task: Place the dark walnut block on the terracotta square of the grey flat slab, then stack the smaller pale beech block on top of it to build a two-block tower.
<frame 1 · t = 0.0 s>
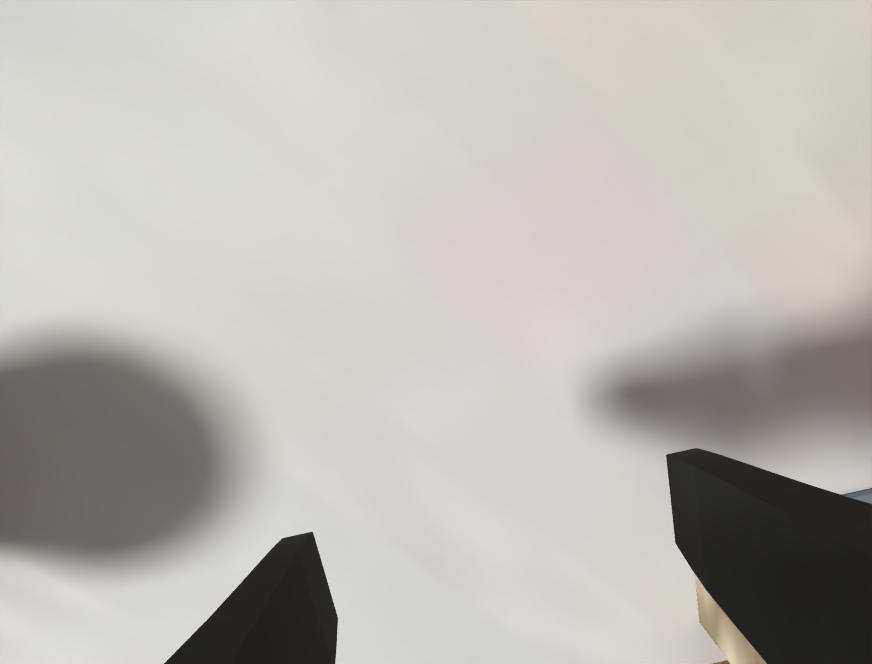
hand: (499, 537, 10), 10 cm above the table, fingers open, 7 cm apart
beech block: (737, 574, 23), on the table
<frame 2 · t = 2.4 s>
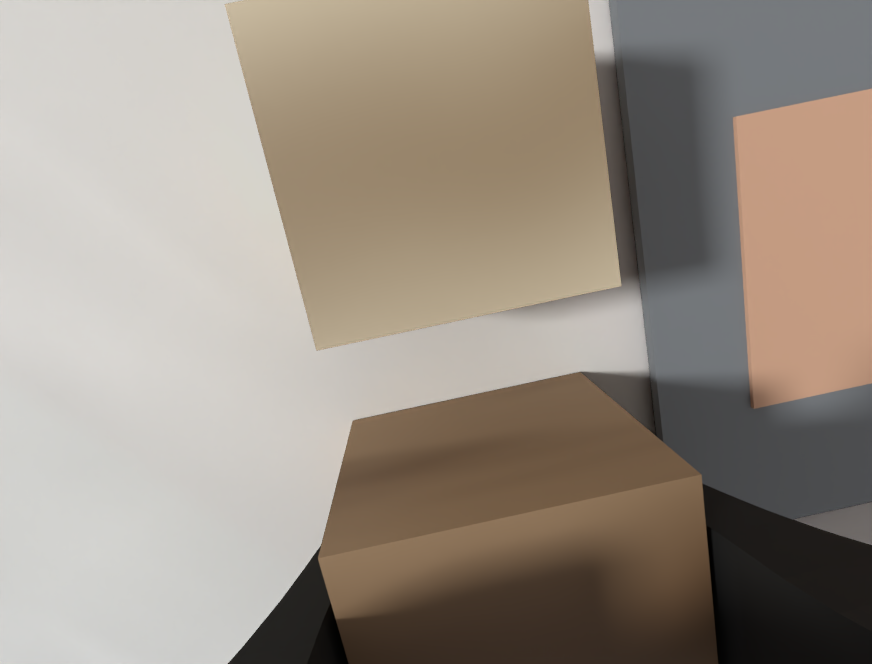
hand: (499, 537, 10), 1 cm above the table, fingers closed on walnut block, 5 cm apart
beech block: (424, 182, 10), on the table
grey flat slab: (870, 241, 11), on the table
walnut block: (487, 498, 11), on the table, touching gripper
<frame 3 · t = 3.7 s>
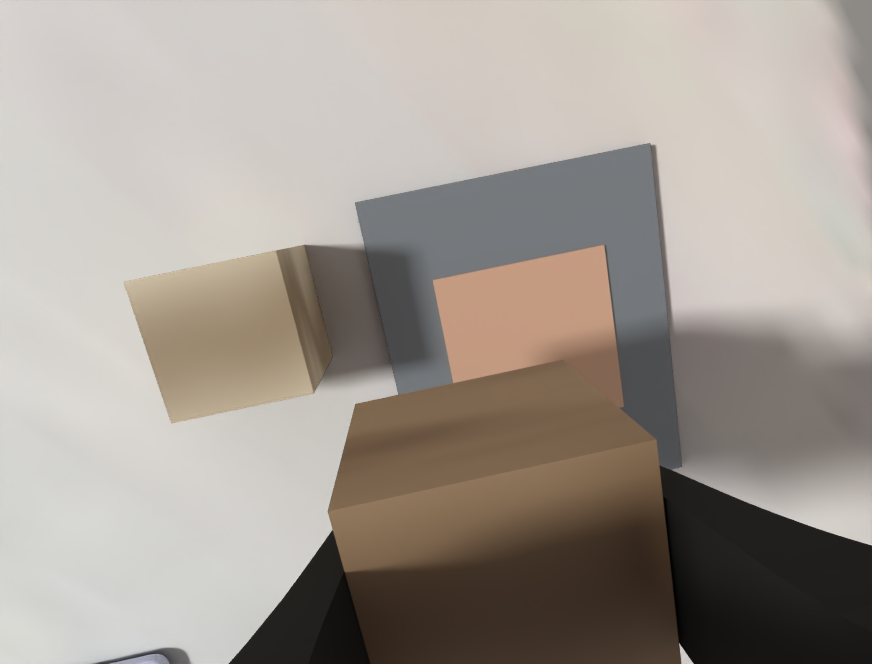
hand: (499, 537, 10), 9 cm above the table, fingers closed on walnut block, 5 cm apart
beech block: (262, 313, 17), on the table
grey flat slab: (529, 343, 18), on the table
walnut block: (478, 476, 12), point 6 cm above the table, touching gripper
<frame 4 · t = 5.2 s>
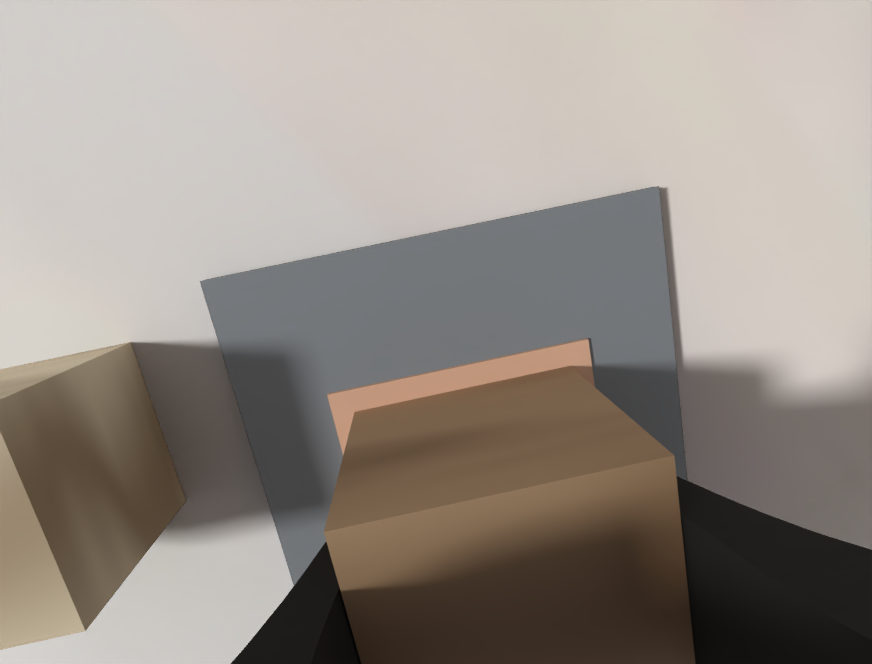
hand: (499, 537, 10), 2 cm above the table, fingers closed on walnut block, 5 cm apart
beech block: (75, 441, 12), on the table
grey flat slab: (479, 477, 12), on the table
walnut block: (482, 486, 12), resting on grey flat slab, touching gripper
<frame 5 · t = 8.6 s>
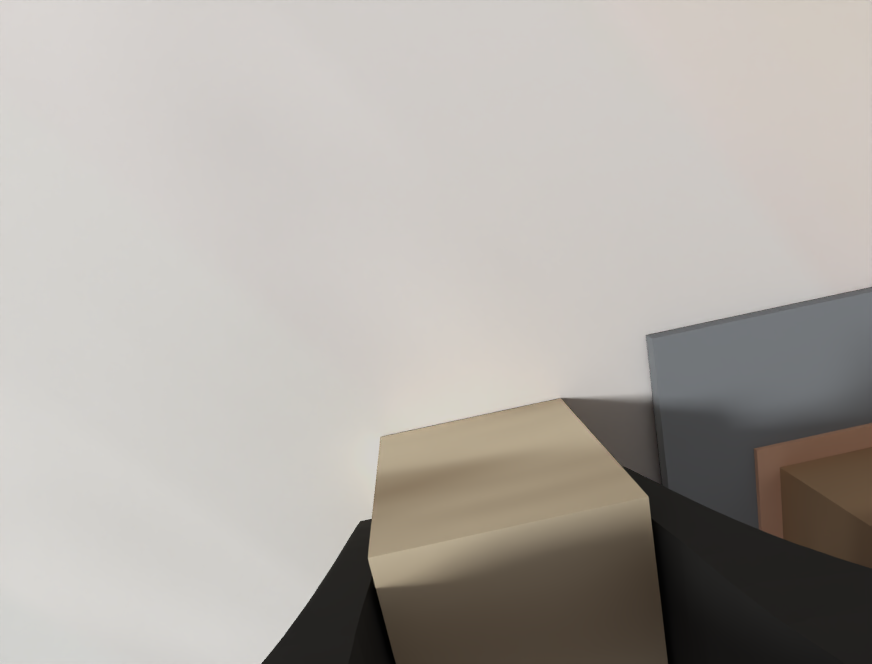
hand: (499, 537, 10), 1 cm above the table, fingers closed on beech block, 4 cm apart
beech block: (487, 498, 11), on the table, touching gripper
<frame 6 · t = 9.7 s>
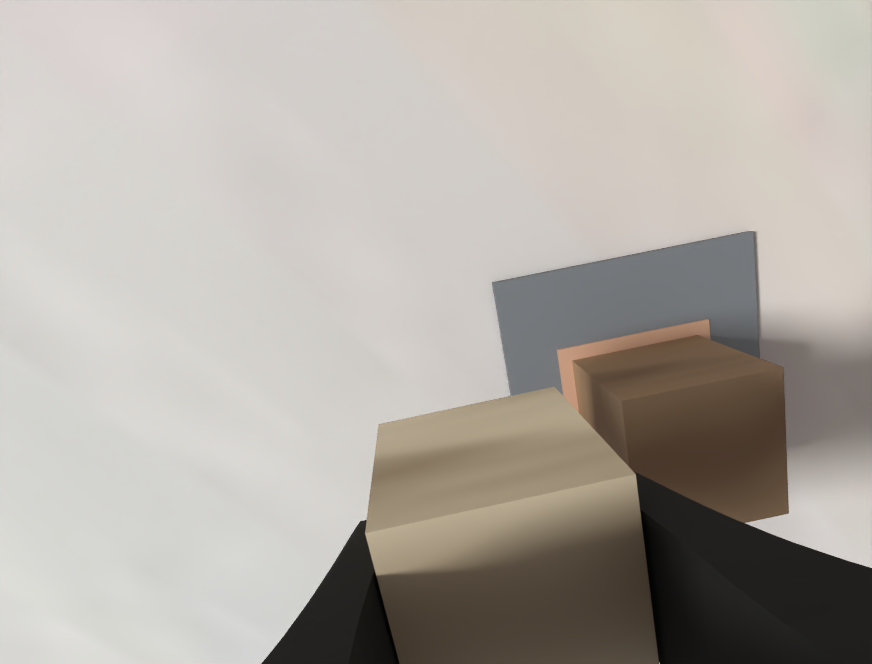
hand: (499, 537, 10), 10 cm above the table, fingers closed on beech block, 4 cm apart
beech block: (482, 485, 12), point 8 cm above the table, touching gripper
grey flat slab: (636, 403, 20), on the table
walnut block: (641, 407, 20), resting on grey flat slab
when the fingers open (7 cm above the table, at t = 11.1 s): beech block stays where it is, resting on walnut block.
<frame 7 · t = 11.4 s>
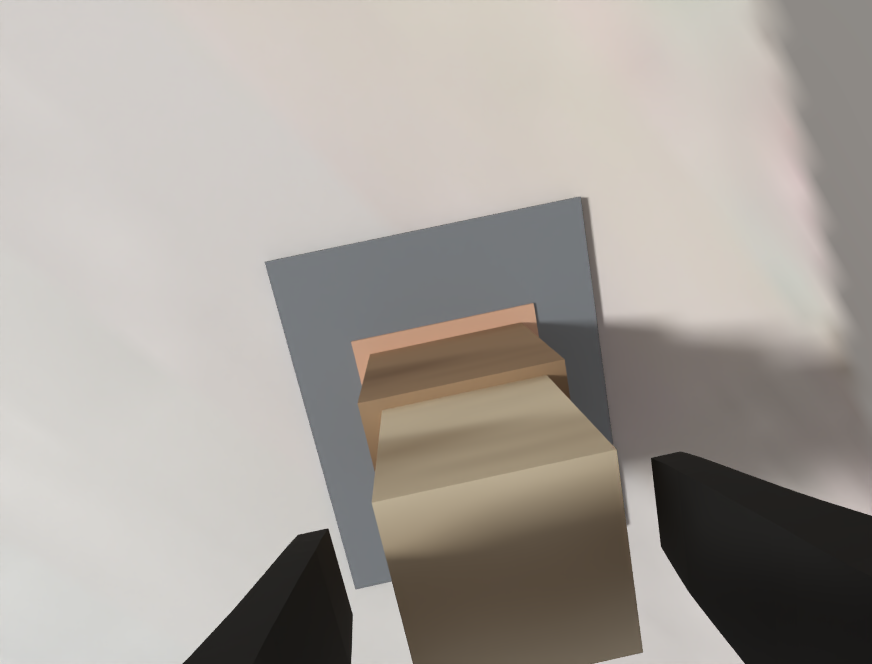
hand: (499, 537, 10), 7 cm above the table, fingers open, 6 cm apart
beech block: (479, 468, 12), point 5 cm above the table, touching walnut block
grey flat slab: (458, 404, 17), on the table
walnut block: (460, 409, 17), resting on grey flat slab, touching beech block
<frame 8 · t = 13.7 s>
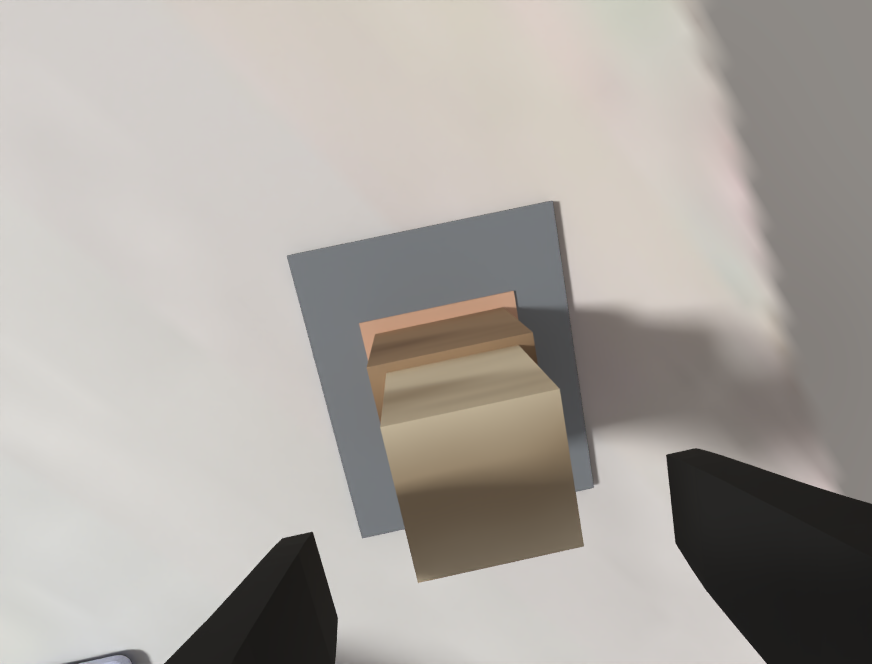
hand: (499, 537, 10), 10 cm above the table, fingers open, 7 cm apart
beech block: (465, 420, 15), point 5 cm above the table, touching walnut block
grey flat slab: (450, 377, 20), on the table
walnut block: (451, 381, 20), resting on grey flat slab, touching beech block
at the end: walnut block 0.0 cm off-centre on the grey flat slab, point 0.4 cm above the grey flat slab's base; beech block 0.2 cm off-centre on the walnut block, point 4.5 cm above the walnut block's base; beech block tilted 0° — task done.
